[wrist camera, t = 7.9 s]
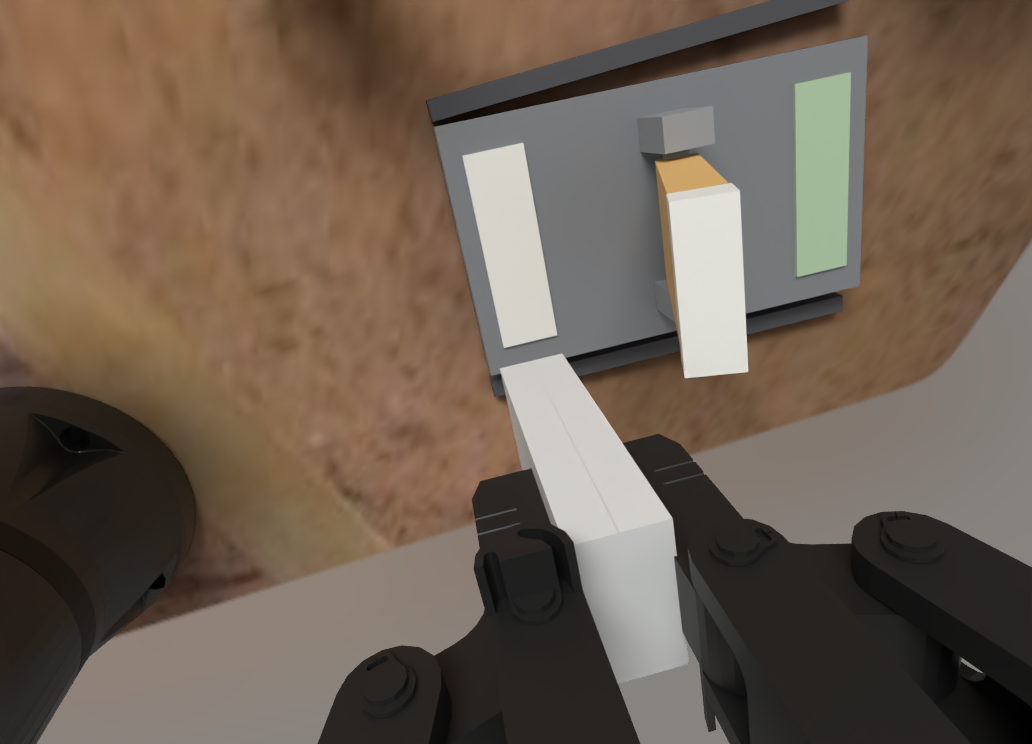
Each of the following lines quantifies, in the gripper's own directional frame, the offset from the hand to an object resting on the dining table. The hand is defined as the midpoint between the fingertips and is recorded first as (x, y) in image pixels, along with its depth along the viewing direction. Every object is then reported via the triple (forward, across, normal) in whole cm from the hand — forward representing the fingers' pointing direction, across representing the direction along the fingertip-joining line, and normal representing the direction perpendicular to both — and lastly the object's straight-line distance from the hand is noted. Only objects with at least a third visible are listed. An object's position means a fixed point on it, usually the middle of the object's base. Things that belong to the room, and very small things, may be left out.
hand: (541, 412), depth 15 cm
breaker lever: (+17, +11, 0) cm, 20 cm away
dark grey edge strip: (+21, +11, -8) cm, 25 cm away
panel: (+21, +11, 0) cm, 23 cm away
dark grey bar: (+21, +11, +8) cm, 25 cm away
